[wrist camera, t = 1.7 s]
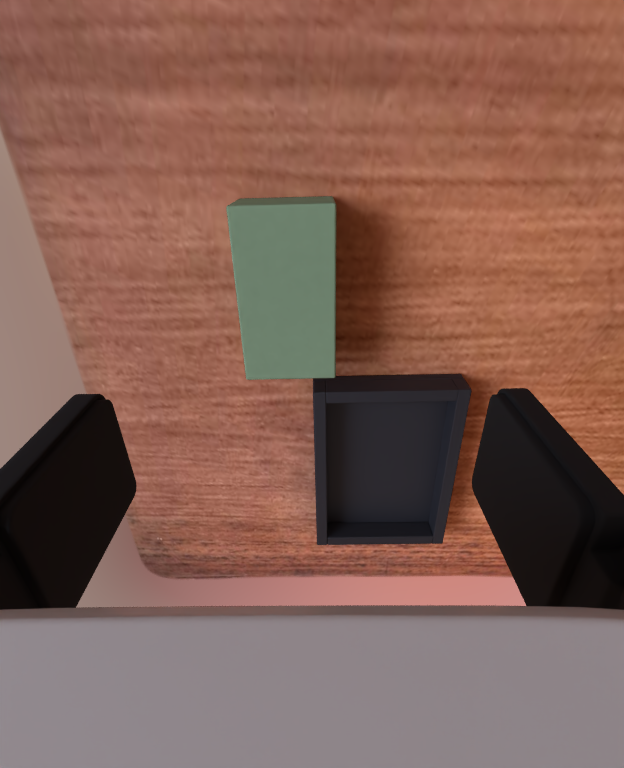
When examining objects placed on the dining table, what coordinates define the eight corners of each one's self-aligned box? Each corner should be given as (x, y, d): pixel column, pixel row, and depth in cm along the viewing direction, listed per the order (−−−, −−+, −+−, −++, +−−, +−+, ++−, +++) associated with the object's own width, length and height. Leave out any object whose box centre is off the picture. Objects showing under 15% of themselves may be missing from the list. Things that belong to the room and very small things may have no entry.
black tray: (316, 524, 33) (317, 545, 32) (313, 376, 27) (312, 392, 25) (435, 522, 33) (442, 543, 31) (461, 373, 27) (472, 389, 25)
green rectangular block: (254, 353, 26) (246, 380, 23) (238, 198, 22) (225, 205, 19) (333, 352, 26) (335, 378, 23) (333, 195, 22) (336, 202, 19)
